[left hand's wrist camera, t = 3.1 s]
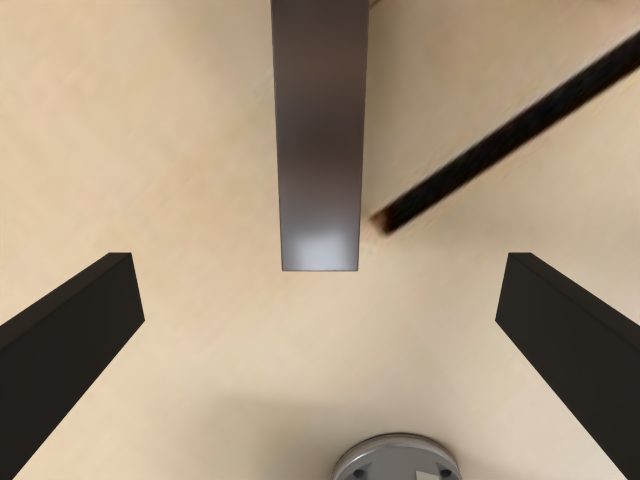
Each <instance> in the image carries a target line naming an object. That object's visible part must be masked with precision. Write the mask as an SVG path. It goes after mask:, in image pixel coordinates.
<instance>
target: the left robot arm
mask: <svg viewBox="0 0 640 480" xmlns="http://www.w3.org/2000/svg"><path fill="white" fill-rule="evenodd" d="M144 321H145V318H144V313H143V308H142V303H141V298H140V293H139V288H138V283H137V278H136V273H135V269H134V264H133V259H132V254H131V253H108V254H106V255H105V256H103V257H102V258H101V259H99V260H98V261H96V262H95V263H93V264H92V265H90V266H89V267H87V268H86V269H84V270H83V271H81V272H80V273H78V274H77V275H75V276H74V277H72V278H71V279H69V280H68V281H66V282H65V283H63V284H62V285H60V286H59V287H57V288H56V289H54V290H53V291H51V292H50V293H49V294H47V295H46V296H44V297H43V298H41V299H40V300H38V301H37V302H35V303H34V304H32V305H31V306H29V307H28V308H26V309H25V310H23V311H22V312H20V313H19V314H17V315H16V316H14V317H13V318H11V319H10V320H8V321H7V322H5V323H4V324H2V325H1V326H0V480H13V478H14V477H15V476H16V475H17V474H18V472H19V471H20V470H21V469H22V468H23V466H24V465H25V464H26V463H27V462H28V460H29V459H30V458H31V457H32V456H33V454H34V453H35V452H36V451H37V450H38V448H39V447H40V446H41V445H42V444H43V442H44V441H45V440H46V439H47V438H48V436H49V435H50V434H51V433H52V432H53V430H54V429H55V428H56V427H57V426H58V424H59V423H60V422H61V421H62V420H63V418H64V417H65V416H66V415H67V414H68V412H69V411H70V410H71V409H72V408H73V406H74V405H75V404H76V403H77V402H78V400H79V399H80V398H81V397H82V396H83V394H84V393H85V392H86V391H87V390H88V388H89V387H90V386H91V385H92V384H93V382H94V381H95V380H96V379H97V378H98V376H99V375H100V374H101V373H102V372H103V370H104V369H105V368H106V367H107V366H108V364H109V363H110V362H111V361H112V360H113V358H114V357H115V356H116V355H117V354H118V352H119V351H120V350H121V349H122V348H123V346H124V345H125V344H126V343H127V342H128V340H129V339H130V338H131V337H132V336H133V334H134V333H135V332H136V331H137V330H138V328H139V327H140V326H141V325H142V324H143V322H144ZM495 321H496V322H497V324H498V325H499V326H500V327H501V328H502V330H503V331H504V332H505V333H506V334H507V336H508V337H509V338H510V339H511V340H512V342H513V343H514V344H515V345H516V346H517V348H518V349H519V350H520V351H521V352H522V354H523V355H524V356H525V357H526V358H527V360H528V361H529V362H530V363H531V364H532V366H533V367H534V368H535V369H536V370H537V372H538V373H539V374H540V375H541V376H542V378H543V379H544V380H545V381H546V382H547V384H548V385H549V386H550V387H551V388H552V390H553V391H554V392H555V393H556V394H557V396H558V397H559V398H560V399H561V400H562V402H563V403H564V404H565V405H566V406H567V408H568V409H569V410H570V411H571V412H572V414H573V415H574V416H575V417H576V418H577V420H578V421H579V422H580V423H581V424H582V426H583V427H584V428H585V429H586V430H587V432H588V433H589V434H590V435H591V436H592V438H593V439H594V440H595V441H596V442H597V444H598V445H599V446H600V447H601V448H602V450H603V451H604V452H605V453H606V454H607V456H608V457H609V458H610V459H611V460H612V462H613V463H614V464H615V465H616V466H617V468H618V469H619V470H620V471H621V472H622V474H623V475H624V476H625V477H626V478H627V480H640V326H639V325H638V324H636V323H635V322H633V321H632V320H630V319H629V318H627V317H626V316H624V315H623V314H621V313H620V312H618V311H617V310H615V309H614V308H612V307H611V306H609V305H608V304H606V303H605V302H603V301H602V300H600V299H599V298H597V297H596V296H594V295H593V294H591V293H590V292H589V291H587V290H586V289H584V288H583V287H581V286H580V285H578V284H577V283H575V282H574V281H572V280H571V279H569V278H568V277H566V276H565V275H563V274H562V273H560V272H559V271H557V270H556V269H554V268H553V267H551V266H550V265H548V264H547V263H545V262H544V261H542V260H541V259H539V258H538V257H536V256H535V255H534V254H532V253H509V254H508V259H507V264H506V269H505V273H504V278H503V283H502V288H501V293H500V298H499V303H498V308H497V313H496V318H495ZM332 480H462V477H461V475H460V472H459V469H458V467H457V464H456V462H455V460H454V458H453V457H452V455H451V454H450V453H449V452H448V451H447V450H446V449H445V448H444V447H442V446H441V445H439V444H438V443H436V442H434V441H432V440H429V439H427V438H424V437H420V436H415V435H408V434H391V435H384V436H379V437H375V438H372V439H369V440H366V441H364V442H362V443H360V444H358V445H356V446H354V447H353V448H351V449H350V450H349V451H348V452H346V453H345V454H344V455H343V456H342V457H341V459H340V460H339V461H338V463H337V464H336V466H335V468H334V471H333V474H332Z"/></svg>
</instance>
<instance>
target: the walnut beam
mask: <svg viewBox="0 0 640 480" xmlns="http://www.w3.org/2000/svg"><path fill="white" fill-rule="evenodd" d="M271 18H272V43H273V67H274V91H275V115H276V139H277V163H278V188H279V212H280V236H281V260H282V271H358V260H359V236H360V212H361V188H362V164H363V140H364V116H365V91H366V67H367V43H368V19H369V0H271Z"/></svg>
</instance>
